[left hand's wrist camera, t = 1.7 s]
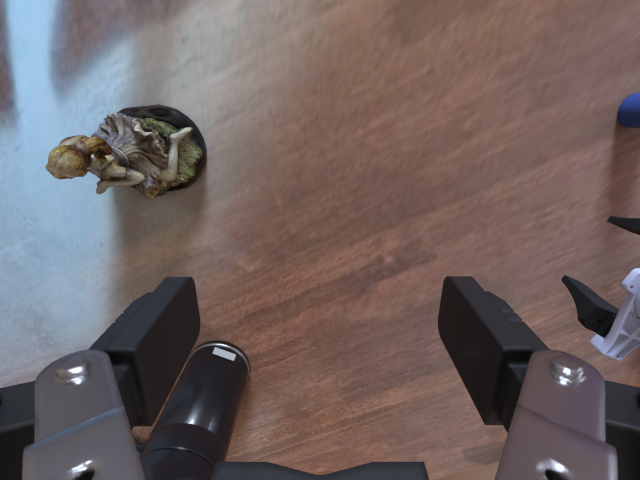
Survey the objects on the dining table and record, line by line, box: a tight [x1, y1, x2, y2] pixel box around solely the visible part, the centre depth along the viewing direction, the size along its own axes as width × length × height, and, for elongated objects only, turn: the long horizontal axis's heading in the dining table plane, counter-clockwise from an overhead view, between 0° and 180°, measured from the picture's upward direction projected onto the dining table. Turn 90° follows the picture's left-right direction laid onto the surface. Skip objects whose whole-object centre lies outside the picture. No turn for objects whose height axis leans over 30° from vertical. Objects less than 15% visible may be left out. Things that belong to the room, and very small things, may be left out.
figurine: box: [46, 105, 206, 199], centre depth 35 cm, size 12×11×15 cm
